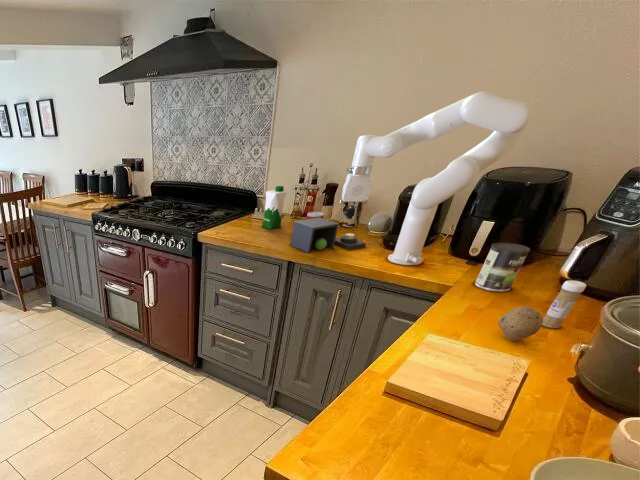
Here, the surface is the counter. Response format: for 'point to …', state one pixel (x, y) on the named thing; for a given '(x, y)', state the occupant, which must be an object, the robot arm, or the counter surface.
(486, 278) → the coffee can
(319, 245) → the ball
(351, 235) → the button
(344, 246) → the button housing
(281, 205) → the milk carton
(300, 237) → the cubby
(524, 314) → the potato
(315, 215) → the canned food
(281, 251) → the counter surface
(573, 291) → the sprinkles bottle
